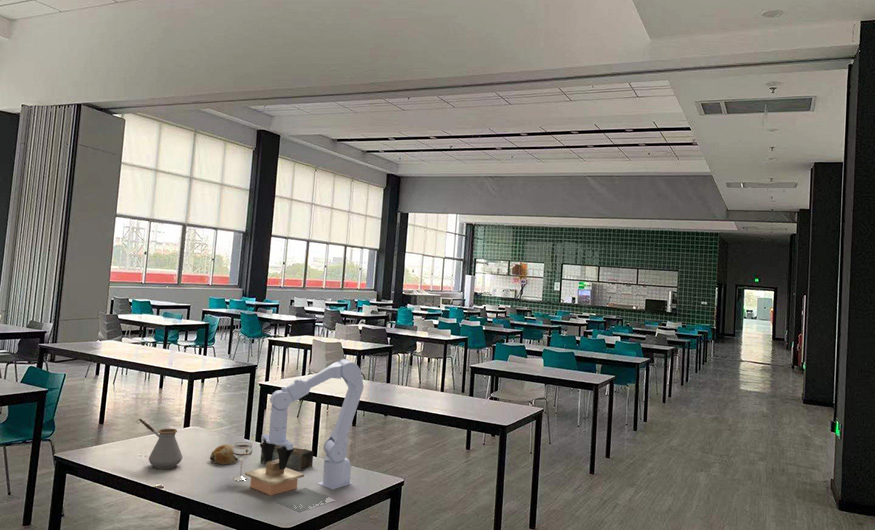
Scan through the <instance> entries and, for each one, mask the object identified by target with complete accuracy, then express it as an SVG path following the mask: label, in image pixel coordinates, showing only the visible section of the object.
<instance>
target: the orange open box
mask: <svg viewBox="0 0 875 530" xmlns="http://www.w3.org/2000/svg"><path fill="white" fill-rule="evenodd" d="M298 479H299V478H297V479H293V480H289V481H286V482H282V483H278V484H274V485H269V484H266V483H264V482H261V481H259V480H256V479H254V478H251V477H250V485H249V487H250V488H252V489H254V490H256V491H258V492H261V493H263V494H266V495H268V496H271V497H272V496H274V495H275V496H276V495H279V494H283V493H286V492H288V491H289V492H290V491H294V490H295V489H296V490H297V489H298Z"/></svg>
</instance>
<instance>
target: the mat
mask: <svg viewBox="0 0 875 530" xmlns="http://www.w3.org/2000/svg"><path fill="white" fill-rule="evenodd" d="M328 497H329V496H328V495H326V494H322V493H320V492H319V491H318V492H317V491H314V490H312V489H310V488H307V487H304V488H299V489H296V490H291V491H289V492H288V491H287V492H284V493H280V494H277V495H275V496H274V495H273V496H271V497H268V498H267V500H270V501H271V502H274V503H276V504H279V505H282V506H283V507H285V508H287V509H288V508H289V509H291V510H293V511H296V512H298V513H302V512H304V511H309V510H310V509H309V508H310V507H309V506H311V507H313V506H315V505H316V504H319V503H320V502H321V501H322V502H321V503H324V504H325V503H326V502H325V500H326V498H328ZM321 503H320V504H321ZM300 504H301V505H302V506H303V507H302V506H301V505H300ZM313 504H314V505H313ZM320 504H319V505H320ZM294 505H295V506H296V507H297V508H296V507H295V506H294ZM325 505H326V504H325ZM299 506H300V507H299ZM294 507H295V508H296V509H295V508H294ZM301 507H302V508H301ZM308 507H309V508H308ZM292 508H293V509H292ZM300 508H301V509H300ZM315 508H318V507H317V506H316V507H315Z"/></svg>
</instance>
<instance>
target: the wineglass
mask: <svg viewBox="0 0 875 530" xmlns="http://www.w3.org/2000/svg"><path fill="white" fill-rule="evenodd" d="M232 445H233V447H234V448H233V455H234V456H235V457H236V458H237V459H238V460H239V462H240V469H239V470H240V472H239V473H240V474H239V476H235V477H233V478H232V480H233V479H234V480H233V481H236V480H237V482H240V481H239V480H244V481H246V480H245V479H246V477H247V476H242V473H243V464H244V461H245V460H246V459H249V457H251V456H252V453H253V445H254V444H253V443H251V442H247V441H241V442H235V443H233V444H232Z"/></svg>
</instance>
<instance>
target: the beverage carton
mask: <svg viewBox="0 0 875 530" xmlns="http://www.w3.org/2000/svg"><path fill="white" fill-rule="evenodd" d="M280 448H282V447H280V446H278V445H275V448H274V451H273V457H272V460H277V459H279V456H278V452H277V449H280ZM293 448H294V451H293V452H292V453H291V455H290V457H289V459H288V462H287V465H286V468H289V469H291V470H296V469H297V470H298V471H303V470H306V469H309V468H312V467H313V460H314V450H309V449H306V448H304V449H303V448H297V447H293ZM260 449H261V448H260ZM260 452H261V454H260V463H261V464H265V459H264V454H263V451H262V449H261V451H260ZM297 470H296V471H297Z"/></svg>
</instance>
